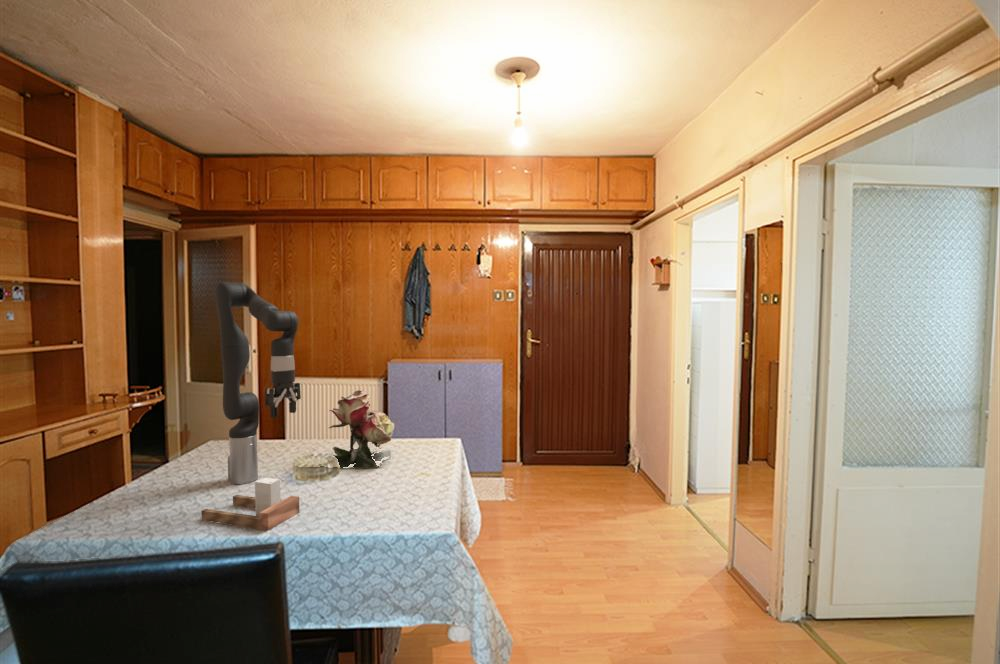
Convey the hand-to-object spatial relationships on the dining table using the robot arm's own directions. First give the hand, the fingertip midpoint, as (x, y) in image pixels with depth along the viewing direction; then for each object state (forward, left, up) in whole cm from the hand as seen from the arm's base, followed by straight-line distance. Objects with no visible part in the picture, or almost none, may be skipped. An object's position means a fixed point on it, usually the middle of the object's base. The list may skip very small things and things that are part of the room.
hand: (283, 415), depth 160 cm
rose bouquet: (+4, +43, -28) cm, 51 cm away
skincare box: (+8, -17, -28) cm, 34 cm away
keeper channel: (+2, -17, -28) cm, 33 cm away
